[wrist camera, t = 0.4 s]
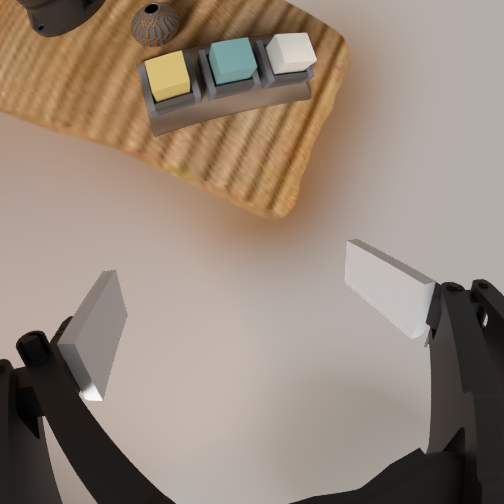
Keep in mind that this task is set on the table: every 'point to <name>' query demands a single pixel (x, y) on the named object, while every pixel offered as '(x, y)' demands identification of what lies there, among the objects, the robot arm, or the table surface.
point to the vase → (155, 24)
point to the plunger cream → (290, 53)
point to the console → (222, 90)
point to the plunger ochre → (168, 76)
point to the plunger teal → (232, 60)
